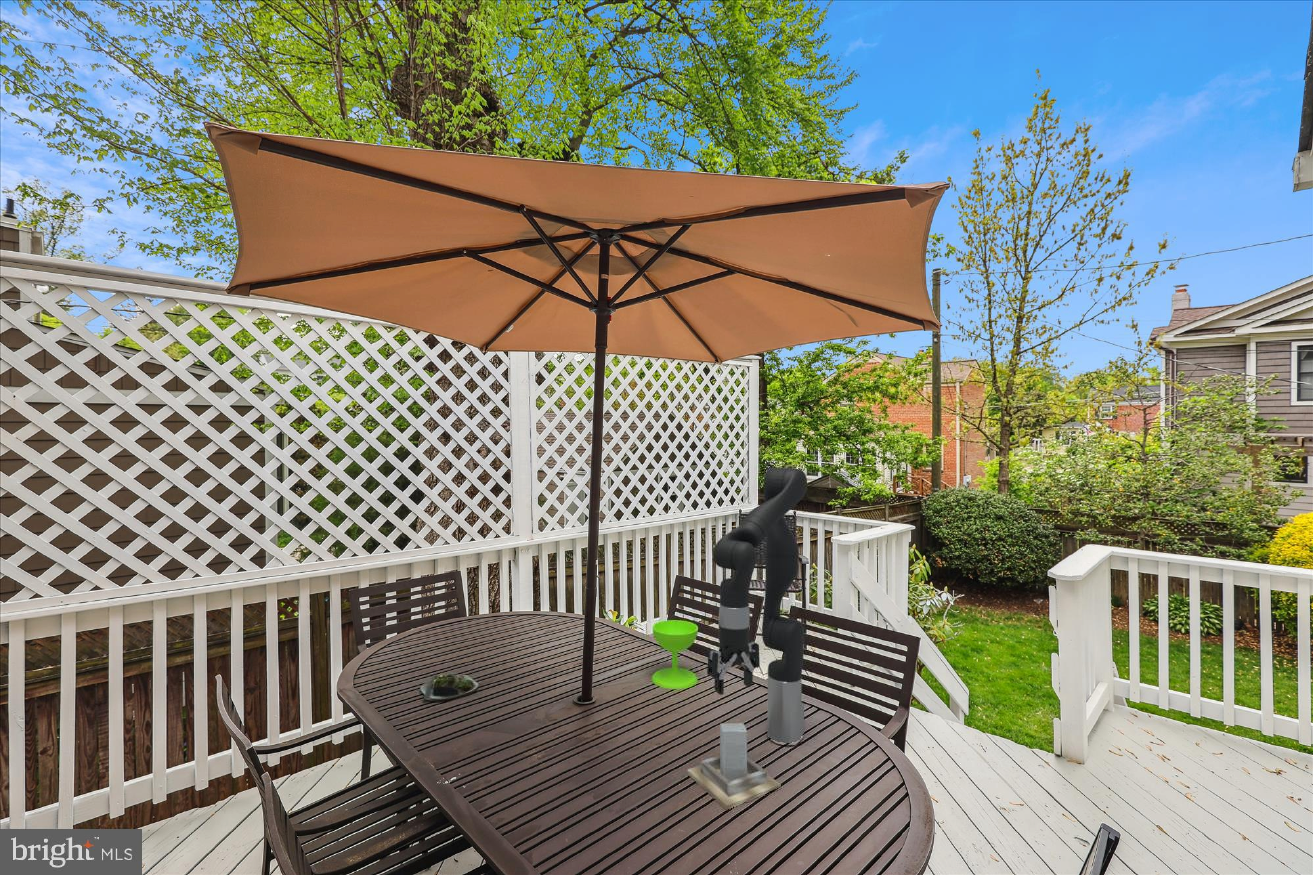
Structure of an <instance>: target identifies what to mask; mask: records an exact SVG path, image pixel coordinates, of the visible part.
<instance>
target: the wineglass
mask: <svg viewBox="0 0 1313 875" xmlns="http://www.w3.org/2000/svg"><path fill="white" fill-rule="evenodd" d="M651 629H652V633H653V636H654V639H655V641H656V643H657V644H658V646H660V647H661V648H663V649H664V650H666V651H668V652H671V653H672V654H671V659H672V660H671V667H668V668H667V667H666V668H662V669H659V670H657V671H656V672H654V674H653V675H652V677H651V681H652V683H653V684H654V685H656V686H658V687H660V688H664V689H668V690H669V689H670V690H683V689H688V688H691V687H693V685H694V686H696V685H697V683H698V676H697V675H696V674H695V673H694V672H692V670H691V671H690V670H688V669H686V668H679V667H678V666H679V663H678V661H679V658H678V655H679V654H678V653H679V652H682V651H685V650H687V649H688V648H690V647H691V646H692V645H693V644H694V642H696V639H697V636H698V631H699V626H698V625H697V624H696V623H693V622H690V621H686V620H681V619H680V620H679V619H678V620H677V619H671V620H670V619H669V620H661V621H658V622H655V623H654V624H653V625H652V628H651Z"/></svg>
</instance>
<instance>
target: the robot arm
mask: <svg viewBox="0 0 1313 875" xmlns="http://www.w3.org/2000/svg"><path fill="white" fill-rule="evenodd" d="M807 489H808V479H807V475H806V473H805V472H804V471H803V470H802V469H799V468H795V467H769V468H768V469H767V470H766V472H765V474H764V479H763V498H764V502H763V503H762V504H760V505H758V506H756V507H754V508H753V509H752V510H750V512H749V513H747V515H746V516H745V517H744V518H743V519H742V521H741V522H740V523H739V525H738V526H737V527H736V528H734V529H732V530H731V531H729V532H727V533H726V534H725V535H723V536H722V537H720V539H719V540H718V541H716V544H715V546H714V548H713V550H712V559H713V562H714V563H715V565H716V566H717V567H720V568H721V569H726V570H733V571H736V573H735V576H734V577H730V578H729V577H728V578H725V579H723V580H721V581H720V586H719V609H718V642H719V649H718V650H713V649H709V650H708V654H707V668H706V670H707V671H706V674H707V676H709V677H711V678H713V679H714V691H715V692H716V693H717V694H718V695H720V696H721V695H724V693H725V692H724V691H725V690H724V689H725V686H724V685H725V679H724V677H725V675H726V673H728V672H729V671H730V669H731V668H733V667H736V666H742V667H743V685H744V686H745V687H747V688H751V687H752V686H753V685H752V684H753V682H754V681H753V680H754V679H753V678H754V675H753V673H754V671H755V669H756V668H757V669H758V668H759V667H760V644H759V643H757V642H754V641H753V640H750V639H751V638H750V636H751V635H750V634H751V631H750V629H751V627H750V626H751V613H750V586H751V583H752V582H751V581H752V577H753V573H754V570H755V567H756V564H757V552H756V551H757V550H756V549H755V548H757V547H759V546H760V545H761V544H762V542H764V539H765V553H764V556H765V560H764V562H765V566H764V567H765V586H764V589H765V590H764V591H765V592H764V605H763V614H762V624H761V625H762V627H761V637H762V643H763V644H764V645H765V647H767V648H768V649H771V650H774V651H779V652H782V653H785V654H784V655H785V657H784V658H782V659H775V660H772V661H771V662H769V663H768V665H767V737H768V736H769V737H770V738H771V739H772V740H775V741H777V742H783V743H791V742H796V741H798V740H800V738H801V736H802V735H803V734H804V735H805V704H804V703H803V702H802V693H803V688H802V687H803V686H802V673H803V667H804V654H805V653H804V650H805V637H806V636H805V627H804V625H803V623H802V622H801V621H800V620H798V619H795V618H790V617H786V616H781V606H782V600H783V598H784V596H785V595H786V593H787V591H788V590H789V588H790V587H791V585H793V582H794V581H795V579H796V578H797V576H798V574H799V564H800V560H799V556H800V550H799V546H798V543H797V540H796V539H795V538H796V537H795V536H794V535H793V532H792V531H791V529H790V528H789V526H788V523H786V520H785V517H784V516H785V515H786V514H787V513H788V512H789V511H791V509H792V508H794V507H795V506H796V505H797V504H798V503H799V502H800V501H801V500H802V499H803V498H804V496H805V494H806V492H807ZM748 653H749V654H748ZM748 655H749V656H748ZM723 663H724V664H725V665H724V664H723Z"/></svg>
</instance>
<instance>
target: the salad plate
mask: <svg viewBox="0 0 1313 875" xmlns="http://www.w3.org/2000/svg"><path fill="white" fill-rule="evenodd" d="M478 689H479V682H477V681H476V680H474V679H473V678H471V677H470V676H469V675H466V674H454V675H452V673H448V674H445V675H443V674H440V675H437V674H436V675H433V676H432V677H431V680H430V681H428V682H425V683H423V684H422V685H421V686H420V691H421V693H422V694H423V699H424V700H426V701H430V702H434V703H445V702H452V701H455V700H458V699H459V700H460V699H463V698H466V697H469V696H472V695H474V694H475V693H476V692H477V690H478Z"/></svg>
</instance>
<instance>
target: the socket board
mask: <svg viewBox="0 0 1313 875" xmlns="http://www.w3.org/2000/svg"><path fill="white" fill-rule="evenodd" d="M699 763H700V764H699V765H696V766H694V767H691V768H688V769H687V775H688V776H689V777H690V778H692V779H693V781H695V782H696V783H697V784H698V785H699V786H700V787H702V789H704V791H705V792H707V794H709V795H710V796H711V797H712V799H714V800H715V799H716V800H715V801H716V802H717V801H718V802H717V803H718V804H719V803H720V804H719V805H720V806H722V807H723V808H724V809H725V810H726V809H727V810H726V811H729V810H731V808H732V809H734V808H737V807H739V806H741V805H740V804H742V803H744V802H746V801H749V800H750V799H752V798H754V797H757V796H760V795H761V794H764V793H767V792H769V791H772V790H774V789H777V788H779V787H781V788H782V784H781V783H779V782H778V781H777V780H776V779H774V778H773V777H772V776H770V775H769V774H768V771H767V770H766V769H764V768H762V767H761V765H759V764H757V763H756V762H755V761H753V760H752V759H751V758H750V757H748V756H747V776H744V777H741V778H739V779H736V780H733V781H728V780H727V779H726V778H725V777H724V776H723V775H721V772H720V754H718V755H716V756H713V757H710V758H706V759H703V760H701V761H700V762H699ZM749 802H750V801H749ZM744 804H745V803H744ZM738 805H739V806H738ZM742 805H743V804H742ZM736 806H737V807H736ZM733 807H734V808H733ZM728 809H729V810H728Z"/></svg>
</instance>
